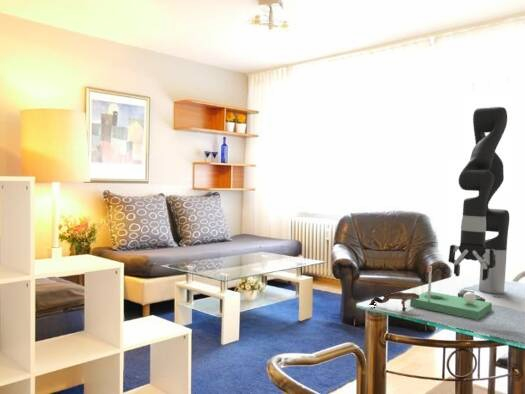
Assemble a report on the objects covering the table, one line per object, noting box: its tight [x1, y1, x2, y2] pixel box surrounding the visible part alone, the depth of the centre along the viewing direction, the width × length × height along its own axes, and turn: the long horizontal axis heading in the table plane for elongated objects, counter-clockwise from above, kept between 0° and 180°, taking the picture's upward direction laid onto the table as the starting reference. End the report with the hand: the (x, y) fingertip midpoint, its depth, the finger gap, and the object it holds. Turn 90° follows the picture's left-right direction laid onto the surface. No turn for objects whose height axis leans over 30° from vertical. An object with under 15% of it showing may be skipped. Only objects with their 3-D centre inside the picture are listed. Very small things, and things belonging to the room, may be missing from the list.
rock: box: [457, 290, 486, 302], centre depth 169 cm, size 8×10×4 cm
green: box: [409, 290, 493, 320], centre depth 161 cm, size 16×22×2 cm
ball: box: [463, 291, 476, 304], centre depth 157 cm, size 4×4×4 cm
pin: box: [426, 265, 433, 302], centre depth 157 cm, size 3×1×12 cm, turn 140°
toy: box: [368, 291, 420, 312], centre depth 157 cm, size 6×9×15 cm
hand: (470, 278), depth 156 cm, fingers open, 8 cm apart
